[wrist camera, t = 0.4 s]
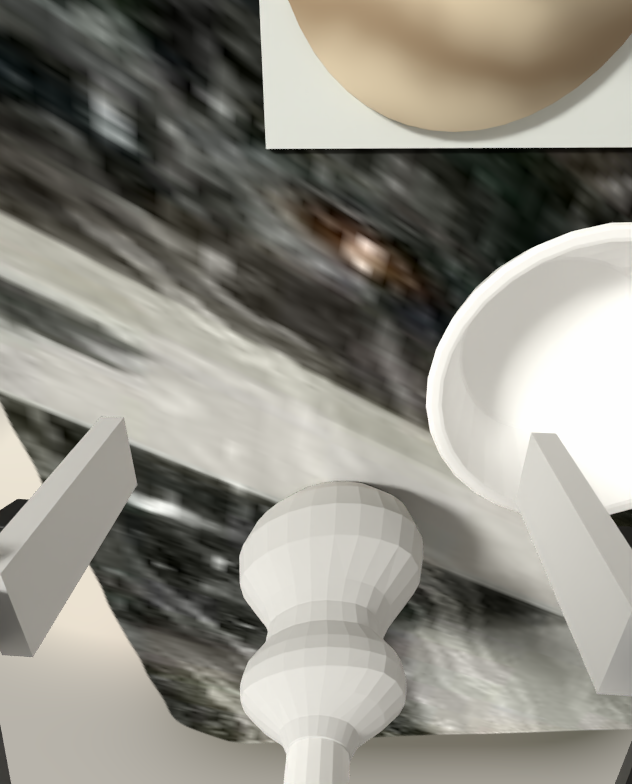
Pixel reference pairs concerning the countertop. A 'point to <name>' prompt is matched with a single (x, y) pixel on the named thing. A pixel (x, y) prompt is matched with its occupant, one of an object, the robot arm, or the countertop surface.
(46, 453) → the countertop surface
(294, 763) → the soap bottle
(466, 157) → the countertop surface
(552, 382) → the bowl
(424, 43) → the lid
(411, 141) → the mat
